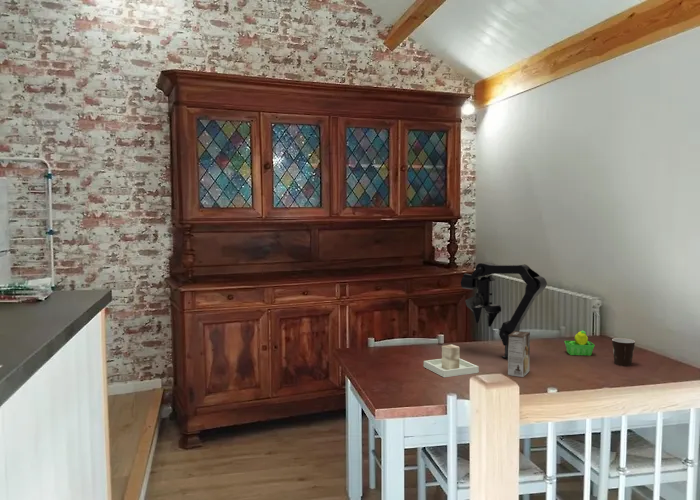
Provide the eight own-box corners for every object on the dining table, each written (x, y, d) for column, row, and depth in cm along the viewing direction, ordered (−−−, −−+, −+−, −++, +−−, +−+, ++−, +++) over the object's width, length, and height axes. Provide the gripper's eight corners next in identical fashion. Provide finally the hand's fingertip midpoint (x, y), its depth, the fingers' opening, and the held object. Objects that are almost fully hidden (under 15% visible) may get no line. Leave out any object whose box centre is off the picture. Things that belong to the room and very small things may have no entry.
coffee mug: (615, 360, 237) (616, 337, 236) (637, 363, 231) (638, 340, 230) (605, 365, 229) (605, 341, 228) (627, 369, 223) (628, 345, 222)
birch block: (451, 365, 228) (451, 344, 227) (459, 368, 224) (459, 347, 223) (441, 367, 226) (441, 345, 225) (449, 370, 221) (449, 348, 221)
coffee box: (513, 369, 225) (514, 330, 223) (529, 371, 221) (530, 332, 220) (507, 375, 217) (507, 334, 216) (523, 377, 213) (524, 336, 212)
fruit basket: (589, 352, 251) (589, 327, 250) (596, 357, 242) (596, 331, 242) (563, 351, 252) (564, 327, 252) (569, 356, 244) (569, 331, 243)
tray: (478, 372, 220) (478, 366, 220) (444, 377, 214) (444, 371, 214) (456, 362, 235) (456, 356, 235) (423, 366, 229) (423, 360, 229)
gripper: (456, 288, 254) (456, 322, 255) (481, 294, 237) (480, 330, 238) (477, 287, 258) (476, 320, 260) (502, 292, 241) (501, 328, 242)
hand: (483, 324), depth 250 cm, fingers open, 9 cm apart
